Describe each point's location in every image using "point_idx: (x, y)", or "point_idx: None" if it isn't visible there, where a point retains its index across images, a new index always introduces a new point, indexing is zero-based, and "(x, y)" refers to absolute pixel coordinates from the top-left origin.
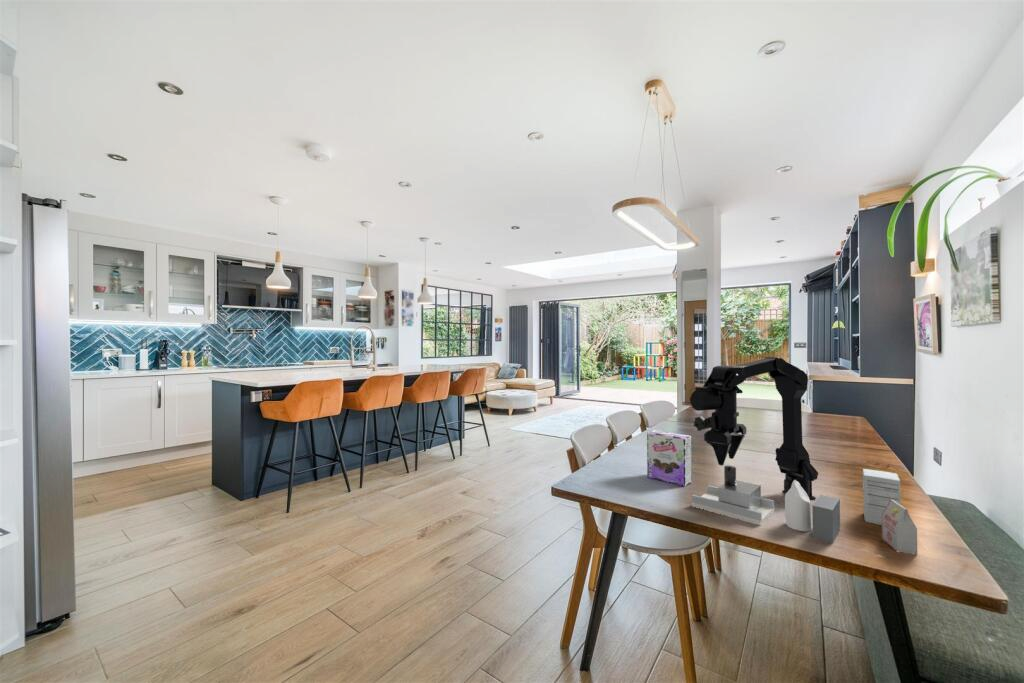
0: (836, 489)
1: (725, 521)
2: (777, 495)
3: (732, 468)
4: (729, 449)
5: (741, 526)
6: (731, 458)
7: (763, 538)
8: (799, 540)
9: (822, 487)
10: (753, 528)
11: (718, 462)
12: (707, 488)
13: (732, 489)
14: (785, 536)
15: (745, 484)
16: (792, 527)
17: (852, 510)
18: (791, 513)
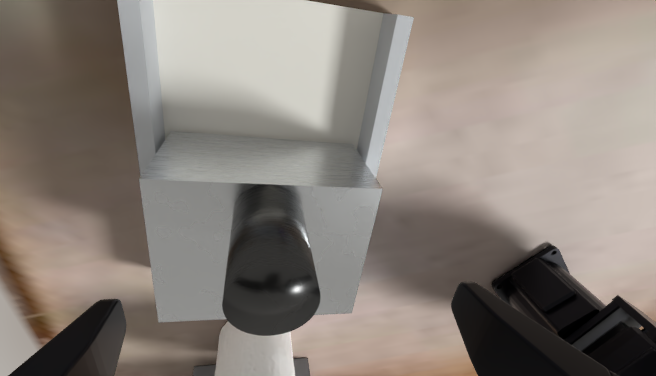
0: None
1: (85, 174)
2: (513, 240)
3: (241, 326)
4: (529, 366)
5: (93, 230)
6: (453, 298)
7: (54, 300)
8: (144, 354)
9: None
10: (116, 261)
11: (76, 324)
12: (390, 14)
13: (172, 249)
14: (140, 330)
15: (325, 267)
16: (221, 331)
17: (461, 370)
18: (215, 372)
